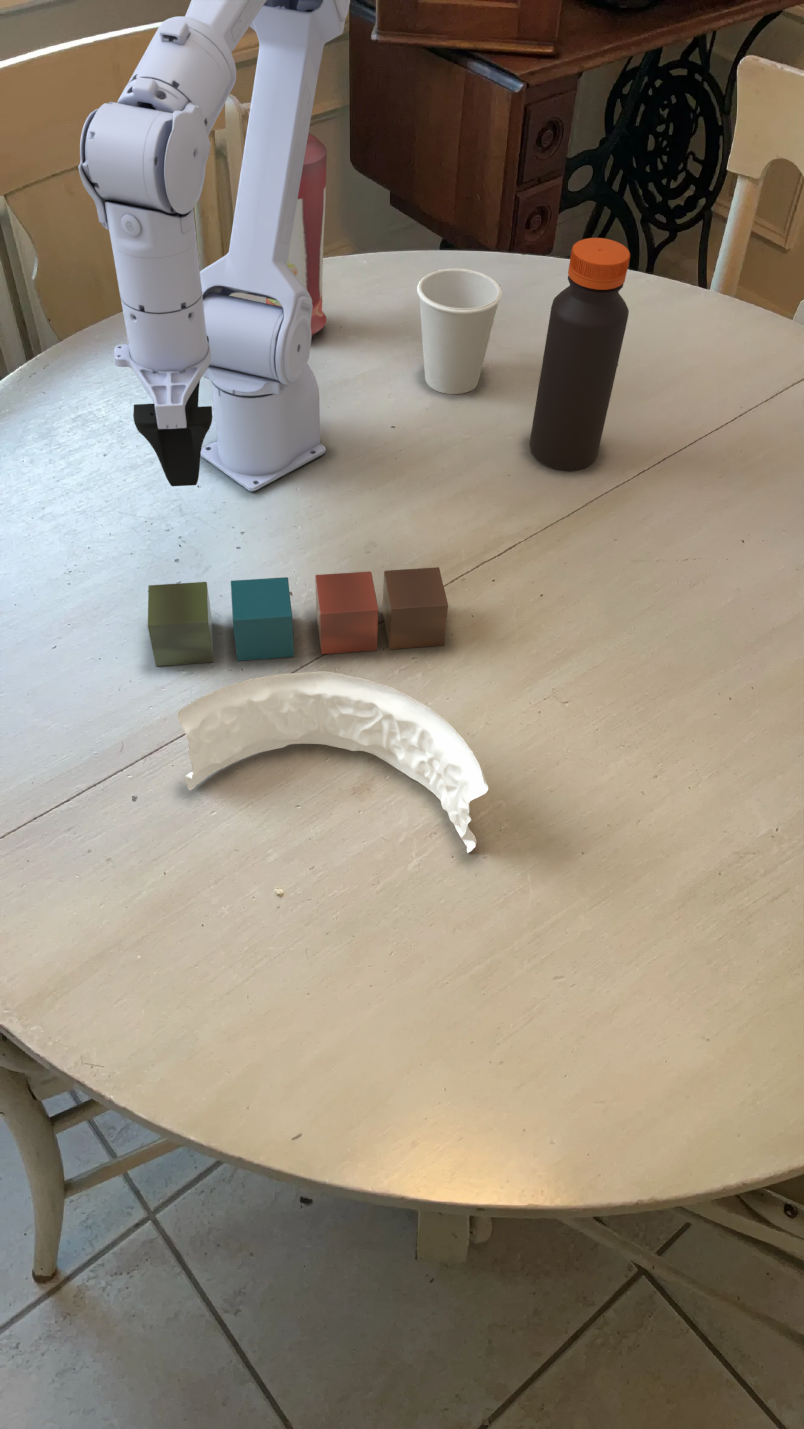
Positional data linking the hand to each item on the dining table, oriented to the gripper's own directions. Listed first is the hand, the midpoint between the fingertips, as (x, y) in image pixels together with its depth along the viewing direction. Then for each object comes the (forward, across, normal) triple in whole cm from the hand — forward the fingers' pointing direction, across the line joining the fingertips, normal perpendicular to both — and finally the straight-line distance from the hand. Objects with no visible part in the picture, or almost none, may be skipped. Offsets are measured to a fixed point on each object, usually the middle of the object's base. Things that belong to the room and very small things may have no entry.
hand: (183, 453), depth 85 cm
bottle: (+10, -11, +36) cm, 39 cm away
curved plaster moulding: (+10, +28, +9) cm, 31 cm away
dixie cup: (+10, -24, +27) cm, 37 cm away
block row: (+9, +12, +8) cm, 17 cm away
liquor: (+10, -35, +11) cm, 38 cm away
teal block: (+9, +12, +5) cm, 16 cm away
